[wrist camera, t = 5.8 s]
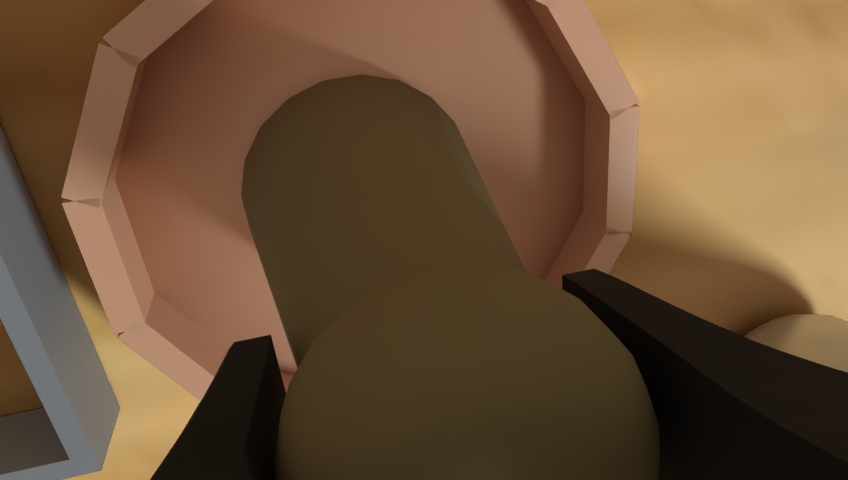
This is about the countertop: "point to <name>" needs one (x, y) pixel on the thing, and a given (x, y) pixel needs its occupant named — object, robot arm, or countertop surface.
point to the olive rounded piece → (424, 309)
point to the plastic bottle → (807, 338)
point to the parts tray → (47, 350)
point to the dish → (293, 73)
